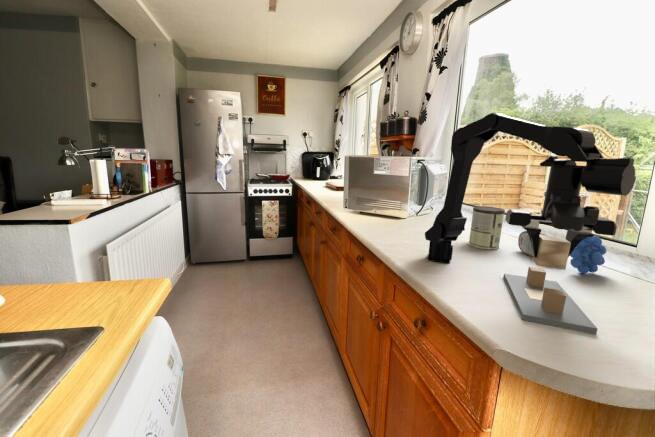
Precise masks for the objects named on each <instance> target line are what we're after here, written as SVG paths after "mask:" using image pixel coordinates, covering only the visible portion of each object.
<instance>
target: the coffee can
mask: <svg viewBox="0 0 655 437" xmlns="http://www.w3.org/2000/svg"><path fill="white" fill-rule="evenodd" d="M472 208H473V209H472V210H473V211H472V217H471V223H470V225H471V227H470V232H469V240H468V245H469V246H471V247H474V248H476V249H480V250H481V249H483V250H492V251H493V250H499V248H500V241H501V235H502V229H503V222H504V216H505V213H506V210H505V209H504V208H502V207H501V208H500V207H494V206H485V205H482V206H479V205H478V206H473V207H472Z"/></svg>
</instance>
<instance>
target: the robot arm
mask: <svg viewBox="0 0 655 437" xmlns="http://www.w3.org/2000/svg"><path fill="white" fill-rule="evenodd" d="M499 132H500V133H504V134H507V135H510V136H514V137H517V138H520V139H524V140H526V141H530V142H533V143H535V144H538V145H539V146H540V147H541V148H543V149H544V150H547V151H548V152H550V153H552V154H553V155H549V157H548V158H547V159H545V160H543V161H541V162H540V163H539V166H540V167H548V168H549V167H550V169H549V173H548V180H547V184H546V189H545V191H544V195H543V197H544V200H543V207H542V209H541V211H540V214H539V215H538V214H532V213H530V212H529V211H528V210H524V209H512V208H511V209H508V210H506V212H505V218H504V220H505V222H506V223H507V224H508V225H511V226H518V227H521V228H522V229H523V230H525V231H527V233H528V236H529V239H530V243H531V247H532V251H533V256H534V257H535V258H537V254H538V247H539V235H540V233H542V229H541V228H540V226H539V225H548V226H549V225H551V226H552V227H553V228H554V229H558V230H567V231H566V235H565V239H566V240H568V241H569V242H571V246H570V250H569V255H568V258H569V257H571V256H570V254H571V253H572V252H573V250H574V249H575V248H576V246H577V245H578V244H579V243H580V242H581V241H582V240H584V239H586V238H587V237H594V236H595V234H596V235H605V236H615V235H616V232H617V228H618V226H617V223H616V222H615V221H614V220H611V219H609V218H606V217H601V216H600V210H601V209H599V207H598V206H591V205H590V206H588V205H587V206H581V202H582V201H581V200H582V198H581V197H582V196H580V193H581V188H582V187H583V188H585V190H586V191H587V192H588V193H597V194H603V195H605V194H607V195H615V196H625V197H626V196H628V195H629V194H630V193H631V192H632V190H633V188H634V186H635V183H636V181H637V180H636V179H637V176H636V169H635V166H634V165H635V159H634V158H631V157H630V158H628V157H619V158H605V157H604V156H603V154H602V153H601V151H600V150H599V149H598V147H597V146H596V137H595V134H594V132H593V131H591V130H589V129H585V128H578V127H571V126H557V125H556V126H555V125H544V124H540V123H535V122H532V121H527V120H524V119H520V118H517V117H516V118H515V117H511V116H507V115H506V114H504V113H497V112H491V113H489V114H487V115H485V116H483V117H482V118H480V119H477V120H476V121H473V122H470V123H468V124H467V125H464V126H463V127H460V128H457V129H456V130H455V131H453V133H452V136H451V143H450V144H451V146H450V151H451V154H452V157H453V163H452V167H451V170H450V171H451V172H450V176H449V180H448V186H447V189H446V194H445V199H444V202H443V207H442V208H441V210H440V211H439V213H437V215H436V216H435V219H434V222H433V224H432V226H431V227H430V228H429V229H427V231H425V232H424V238H425V241H428V242H429V245H428V246H429V247H428V254H427V258H426V259H427V261H431V262H438V263H444V264H450V262H451V261H452V258H453V253H454V252H453V251H454V250H453V249H454V245H453V244H452V242H453V241H454V242H455V241H456V242H457V240H458V237H459V236H460V235H461V234H462V233H463V231H465V225H466V224H467V218H468V217H464V216H463V214H462V207H463V204H464V199H465V195H466V190H467V187H468V182H469V179H470V173H471V170H472V166H473V163H474V161H475V160H476V158H477V157H478V156H479V155H480V154H481V153H482V149H483V147H484V144H485V143H487V142H488V141H491V140H492V139H493V138H494V137H495V136H496V135H497V134H498V133H499ZM559 157H566V158H568V159H559ZM576 162H579V163H586V164H585V165H579V164H578V163H576ZM577 164H578V165H577ZM593 232H594V233H595V234H593Z"/></svg>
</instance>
